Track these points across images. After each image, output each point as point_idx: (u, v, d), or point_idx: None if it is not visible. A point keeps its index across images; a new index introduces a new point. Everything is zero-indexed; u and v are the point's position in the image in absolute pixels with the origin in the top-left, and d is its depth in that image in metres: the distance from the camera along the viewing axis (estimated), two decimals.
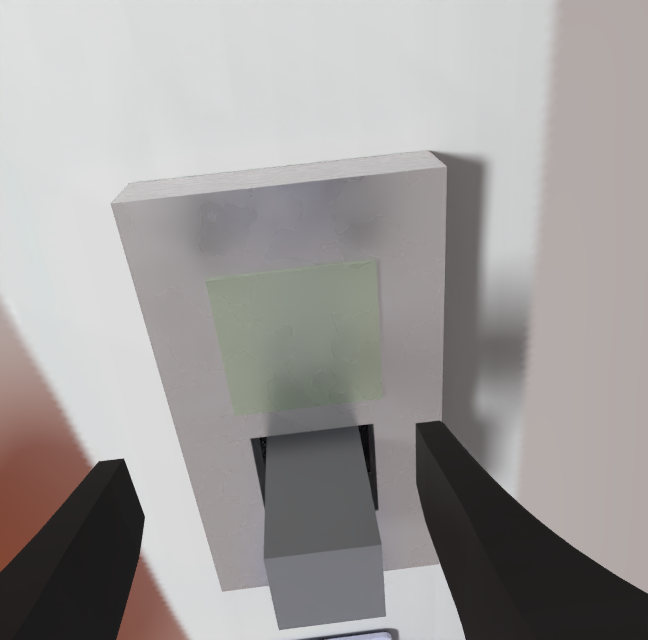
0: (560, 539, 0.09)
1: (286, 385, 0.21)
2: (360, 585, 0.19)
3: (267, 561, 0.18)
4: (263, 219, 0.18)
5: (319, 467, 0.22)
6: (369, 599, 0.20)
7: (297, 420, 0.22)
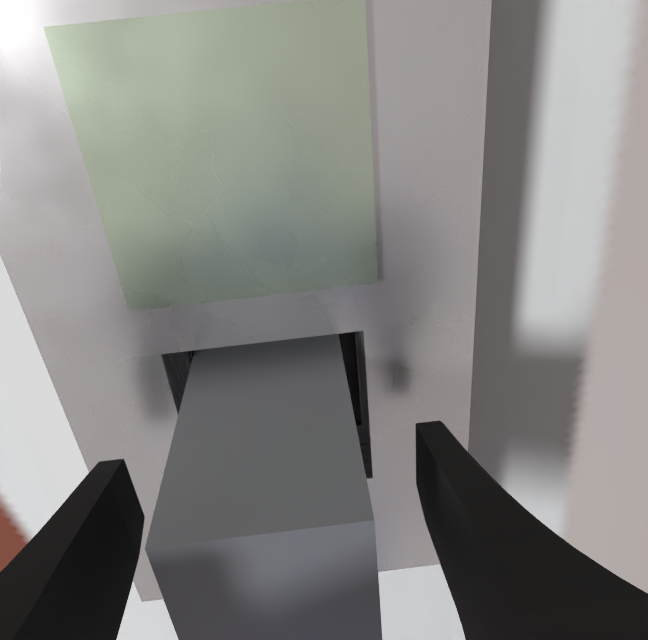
0: (560, 539, 0.09)
1: (213, 253, 0.12)
2: (336, 597, 0.10)
3: (153, 553, 0.09)
4: None
5: (270, 397, 0.13)
6: (352, 622, 0.11)
7: (237, 322, 0.14)
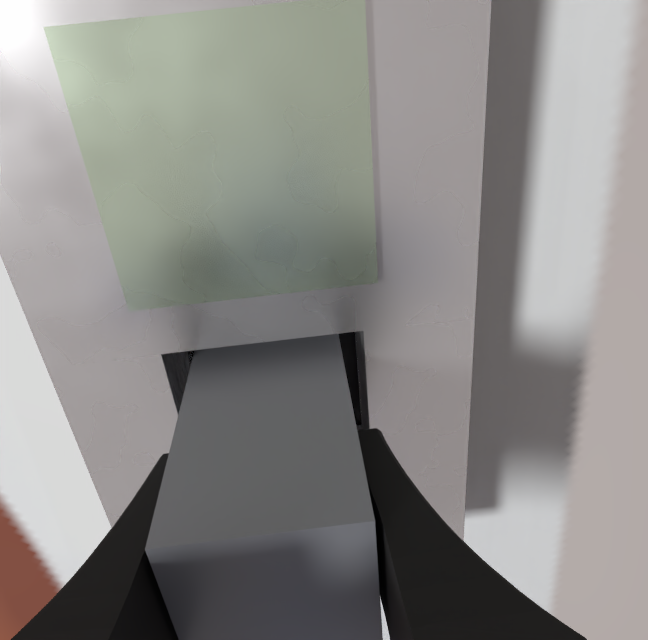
0: (469, 550, 0.09)
1: (213, 253, 0.12)
2: (336, 598, 0.10)
3: (153, 553, 0.09)
4: None
5: (271, 397, 0.13)
6: (352, 623, 0.11)
7: (237, 322, 0.14)
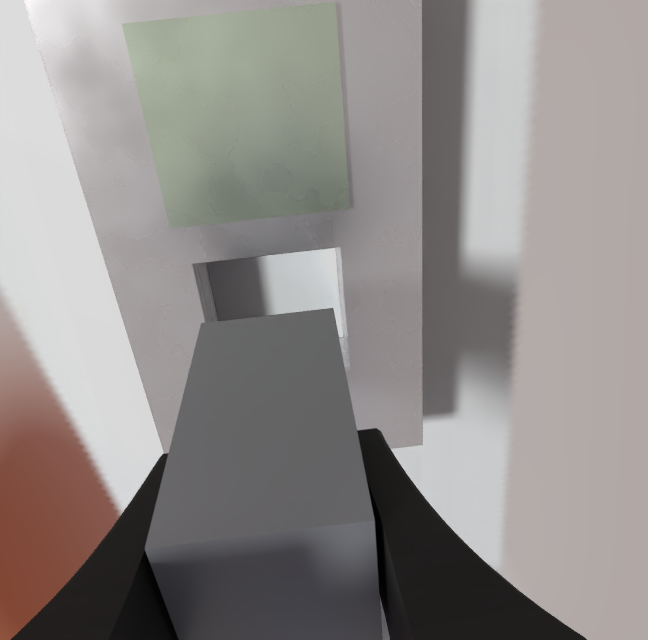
0: (469, 551, 0.09)
1: (231, 185, 0.18)
2: (336, 597, 0.10)
3: (152, 553, 0.09)
4: None
5: (270, 397, 0.13)
6: (352, 623, 0.11)
7: (248, 239, 0.19)
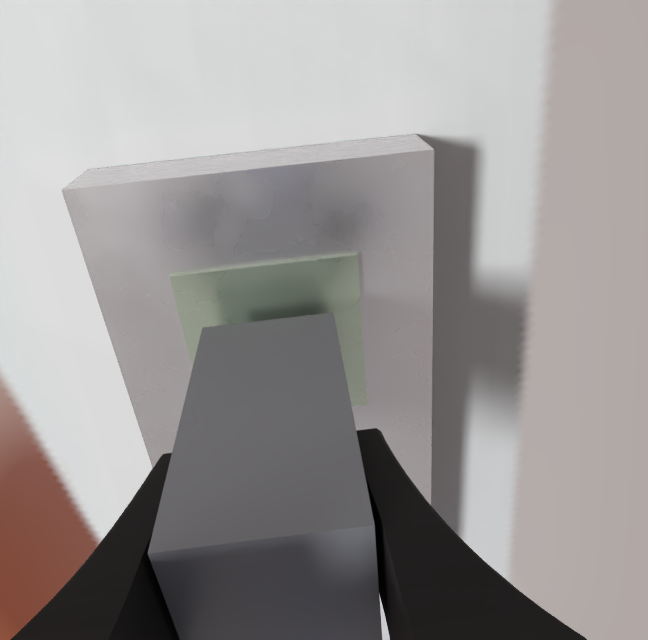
0: (468, 550, 0.09)
1: None
2: (336, 601, 0.11)
3: (155, 557, 0.10)
4: (232, 208, 0.17)
5: (271, 401, 0.13)
6: (352, 625, 0.11)
7: None
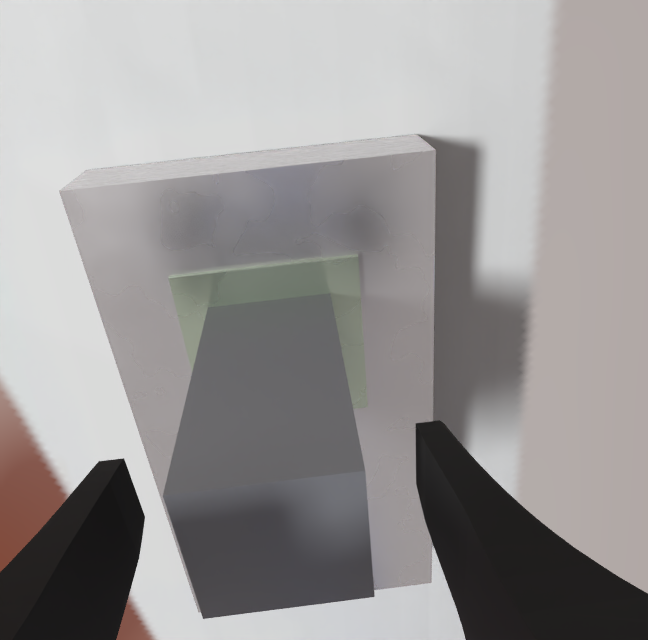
0: (560, 539, 0.09)
1: None
2: (331, 543, 0.12)
3: (169, 499, 0.11)
4: (231, 209, 0.16)
5: (272, 370, 0.14)
6: (346, 567, 0.12)
7: None
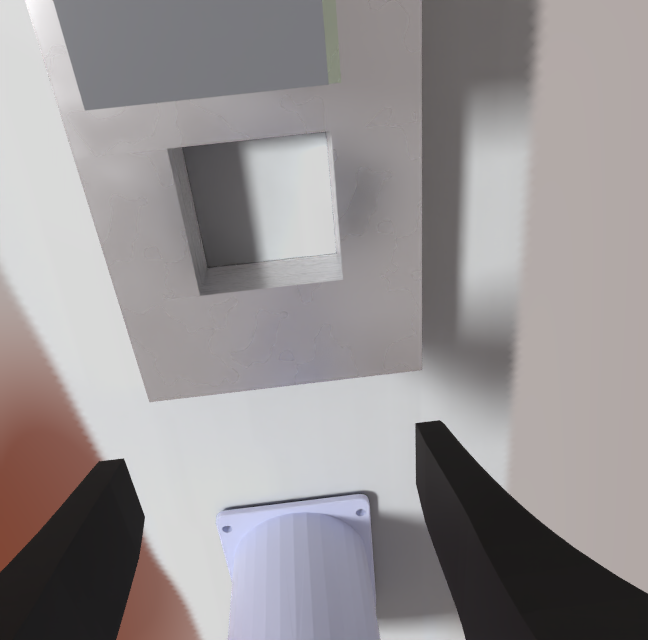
0: (560, 539, 0.09)
1: None
2: None
3: None
4: None
5: None
6: (285, 8, 0.08)
7: (228, 120, 0.17)
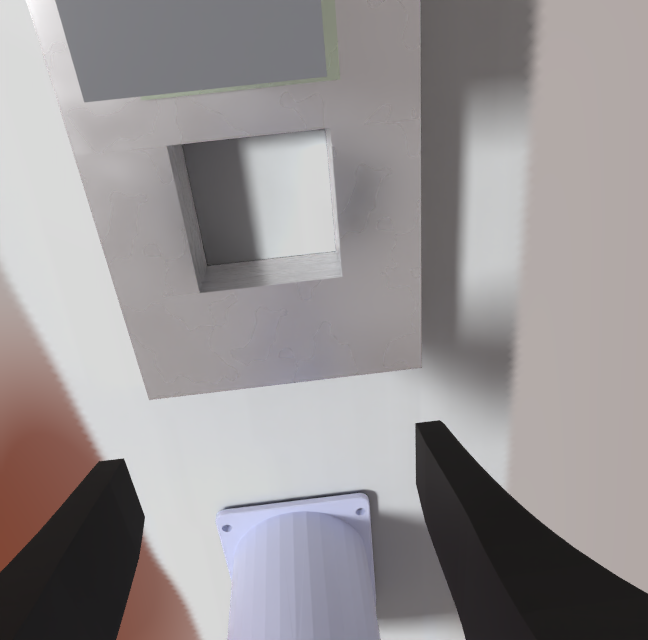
0: (560, 539, 0.09)
1: None
2: None
3: None
4: None
5: None
6: (283, 0, 0.08)
7: (228, 117, 0.17)
